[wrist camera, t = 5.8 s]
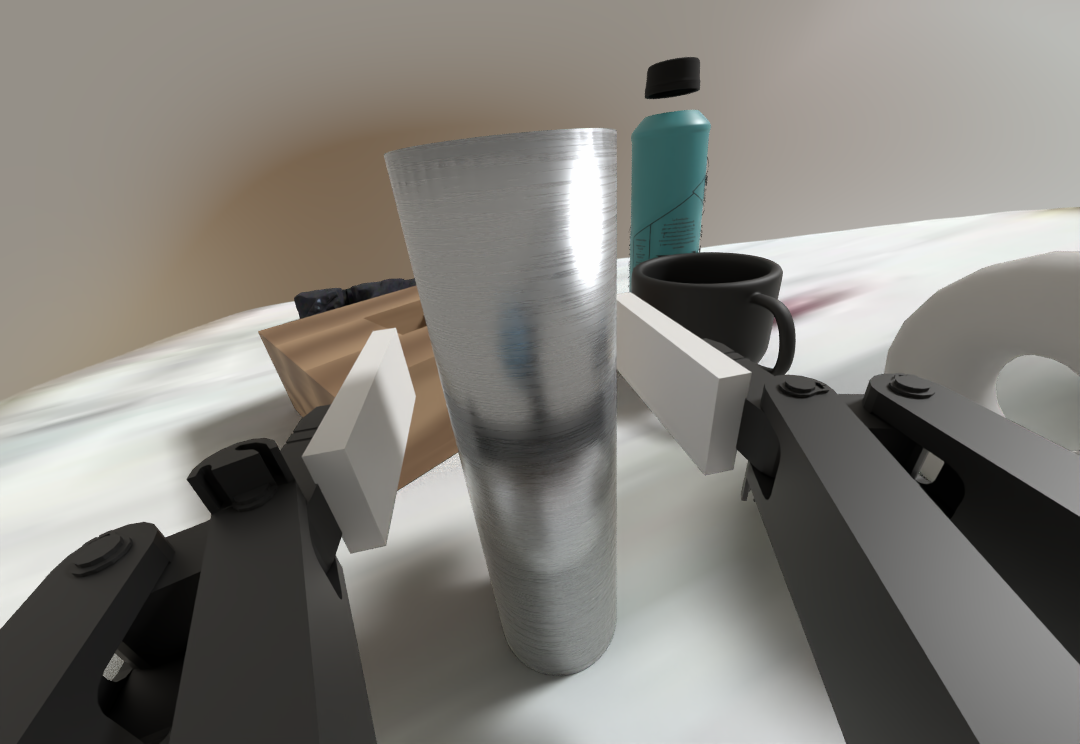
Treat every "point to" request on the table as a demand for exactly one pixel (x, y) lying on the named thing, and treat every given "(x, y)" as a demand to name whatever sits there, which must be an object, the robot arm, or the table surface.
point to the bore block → (332, 349)
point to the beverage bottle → (668, 168)
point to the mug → (721, 300)
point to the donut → (992, 328)
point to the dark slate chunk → (346, 296)
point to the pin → (528, 366)
